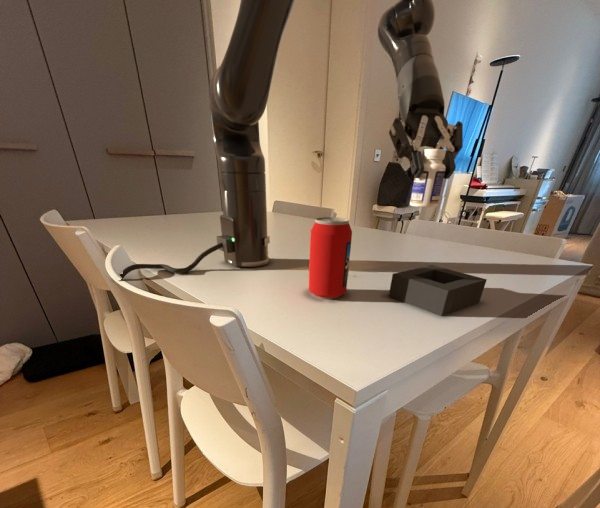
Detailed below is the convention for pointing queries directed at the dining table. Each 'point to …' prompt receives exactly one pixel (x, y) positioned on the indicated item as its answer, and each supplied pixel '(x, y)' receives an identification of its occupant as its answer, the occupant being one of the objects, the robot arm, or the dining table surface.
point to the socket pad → (436, 289)
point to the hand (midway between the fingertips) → (434, 174)
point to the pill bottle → (429, 179)
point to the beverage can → (329, 257)
